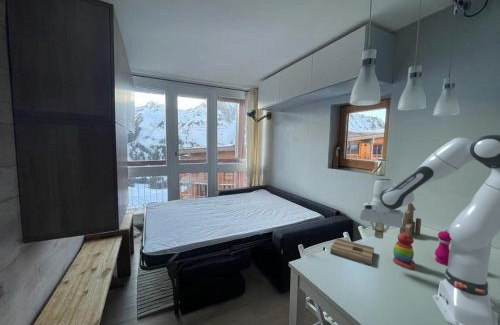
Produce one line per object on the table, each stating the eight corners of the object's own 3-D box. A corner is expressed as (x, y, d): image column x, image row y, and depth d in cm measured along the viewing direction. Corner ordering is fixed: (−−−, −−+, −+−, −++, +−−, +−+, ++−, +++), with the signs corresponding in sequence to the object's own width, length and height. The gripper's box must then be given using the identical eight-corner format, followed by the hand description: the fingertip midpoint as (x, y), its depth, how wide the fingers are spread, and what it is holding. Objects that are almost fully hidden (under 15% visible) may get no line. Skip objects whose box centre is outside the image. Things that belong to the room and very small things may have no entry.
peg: (382, 239, 112) (384, 221, 112) (374, 237, 115) (375, 220, 114) (383, 236, 116) (384, 219, 115) (374, 234, 118) (376, 218, 117)
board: (370, 265, 114) (371, 259, 114) (330, 253, 127) (330, 248, 126) (373, 252, 129) (373, 247, 128) (336, 242, 141) (337, 237, 141)
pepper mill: (454, 266, 115) (457, 232, 114) (439, 264, 117) (442, 231, 115) (444, 259, 122) (448, 227, 121) (431, 258, 124) (434, 226, 122)
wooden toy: (409, 238, 152) (411, 205, 150) (399, 234, 158) (402, 203, 156) (420, 235, 158) (423, 203, 156) (411, 231, 164) (413, 201, 162)
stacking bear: (414, 271, 110) (416, 239, 109) (391, 263, 117) (393, 233, 115) (414, 262, 118) (417, 233, 117) (393, 256, 125) (395, 228, 124)
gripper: (404, 209, 110) (401, 234, 111) (361, 202, 122) (360, 224, 123) (404, 212, 105) (402, 238, 106) (360, 204, 117) (358, 228, 118)
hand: (379, 230), depth 115 cm, fingers closed on peg, 4 cm apart
